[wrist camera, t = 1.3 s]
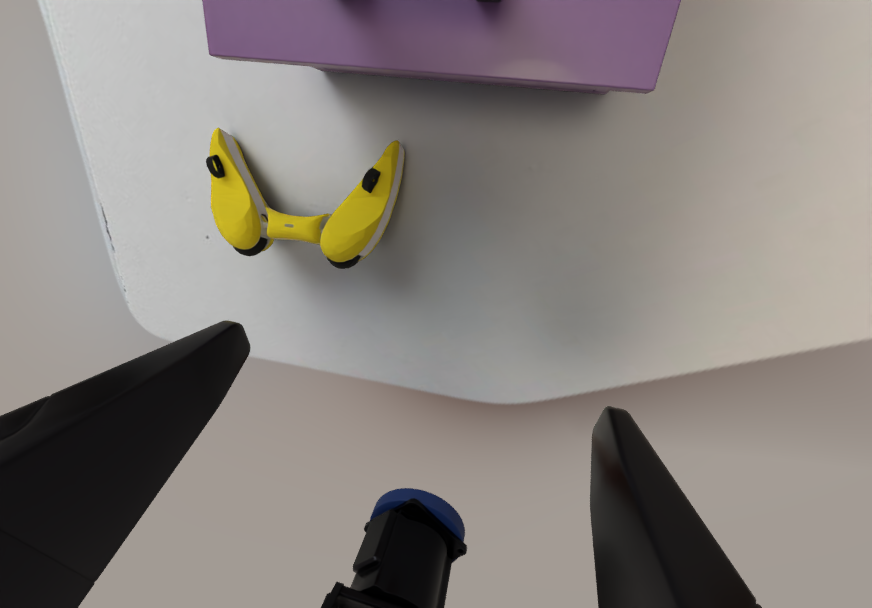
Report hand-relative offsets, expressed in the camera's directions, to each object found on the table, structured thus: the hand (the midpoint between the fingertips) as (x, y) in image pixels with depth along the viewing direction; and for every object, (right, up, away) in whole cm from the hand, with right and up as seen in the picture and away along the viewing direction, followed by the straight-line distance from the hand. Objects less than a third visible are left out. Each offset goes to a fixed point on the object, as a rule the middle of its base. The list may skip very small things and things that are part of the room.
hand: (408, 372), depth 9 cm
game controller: (-6, +8, +12) cm, 15 cm away
